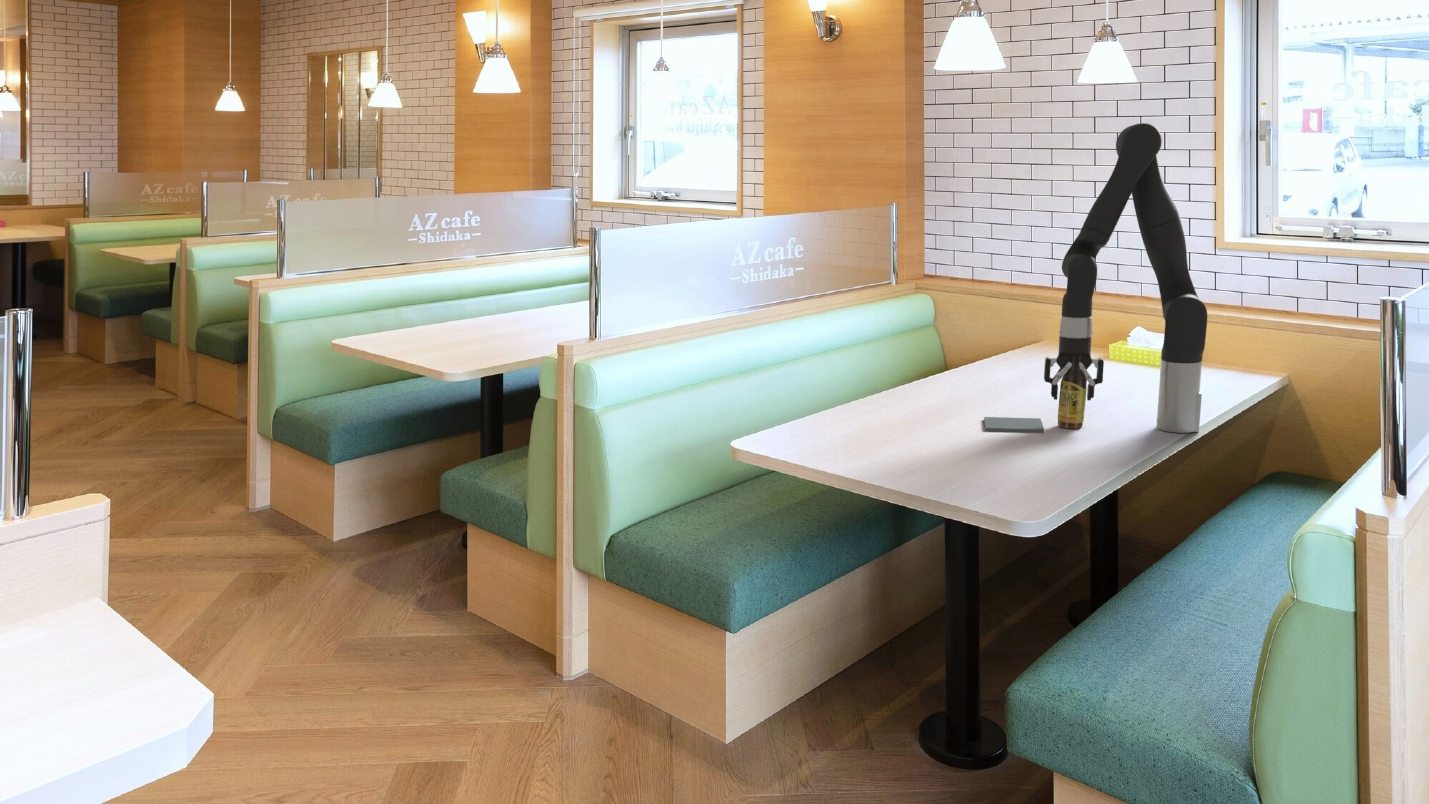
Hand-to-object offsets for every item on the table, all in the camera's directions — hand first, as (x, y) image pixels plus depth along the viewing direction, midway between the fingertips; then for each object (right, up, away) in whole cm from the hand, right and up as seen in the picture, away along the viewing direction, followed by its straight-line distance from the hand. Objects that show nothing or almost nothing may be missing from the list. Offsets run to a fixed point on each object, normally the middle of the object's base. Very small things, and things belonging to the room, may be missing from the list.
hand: (1071, 399), depth 273 cm
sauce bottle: (0, -7, +2) cm, 7 cm away
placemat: (-14, -7, +3) cm, 16 cm away
